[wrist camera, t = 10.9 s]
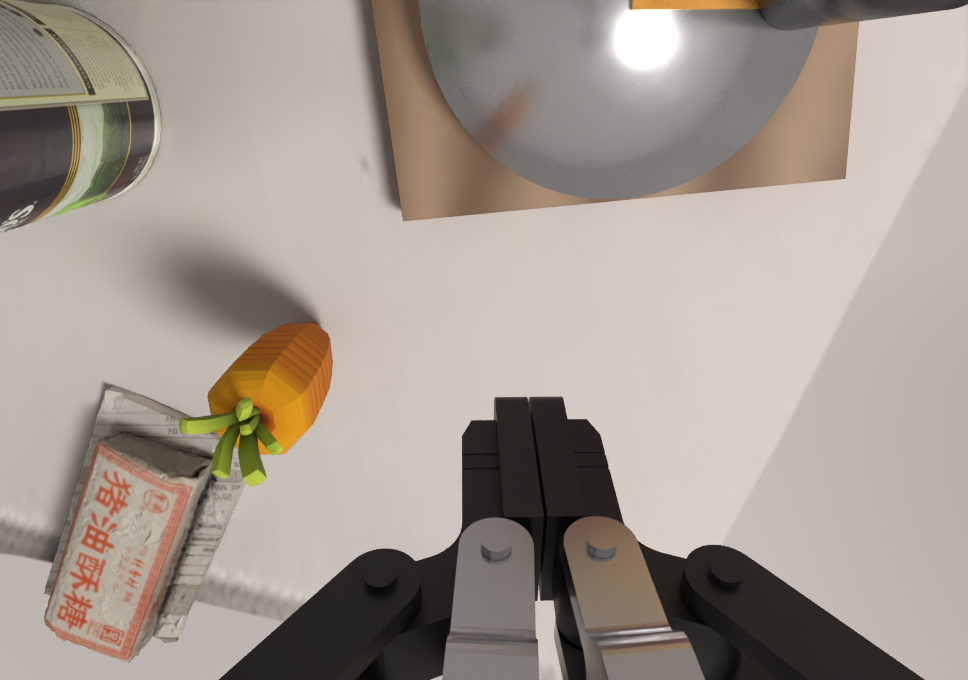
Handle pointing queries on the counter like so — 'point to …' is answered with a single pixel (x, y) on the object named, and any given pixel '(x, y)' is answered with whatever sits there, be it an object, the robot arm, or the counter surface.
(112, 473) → the packaged product
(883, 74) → the counter surface
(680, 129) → the wheel
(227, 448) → the carrot
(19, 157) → the coffee can
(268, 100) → the counter surface
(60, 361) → the counter surface
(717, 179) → the base board
